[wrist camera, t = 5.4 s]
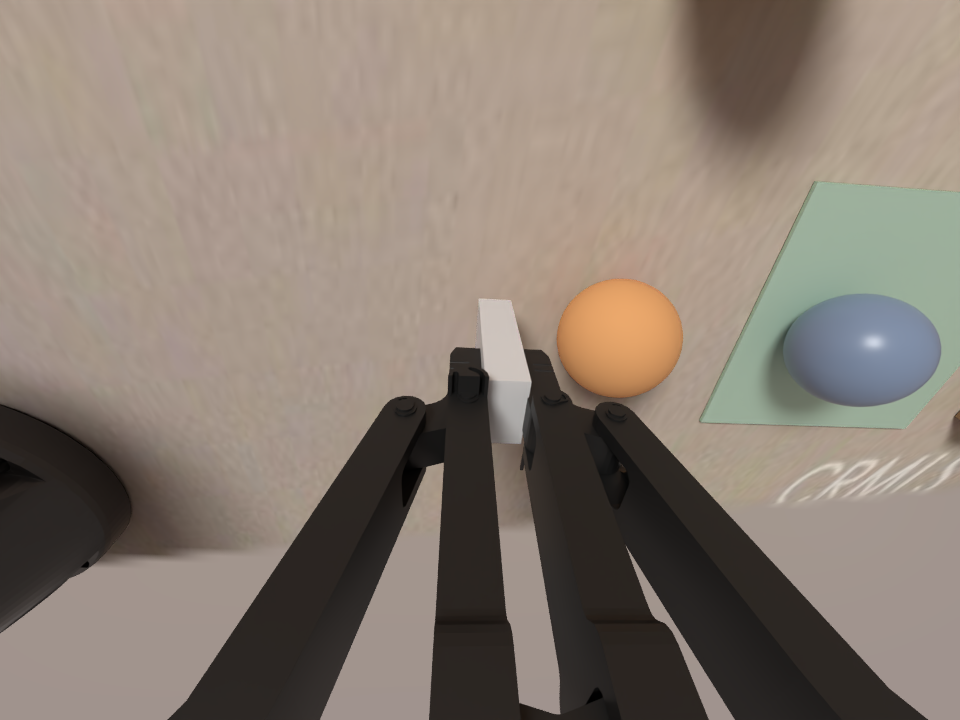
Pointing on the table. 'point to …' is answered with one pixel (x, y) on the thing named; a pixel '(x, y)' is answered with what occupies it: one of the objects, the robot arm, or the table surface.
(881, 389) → the ball
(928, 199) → the mark
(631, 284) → the ball
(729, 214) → the table surface
